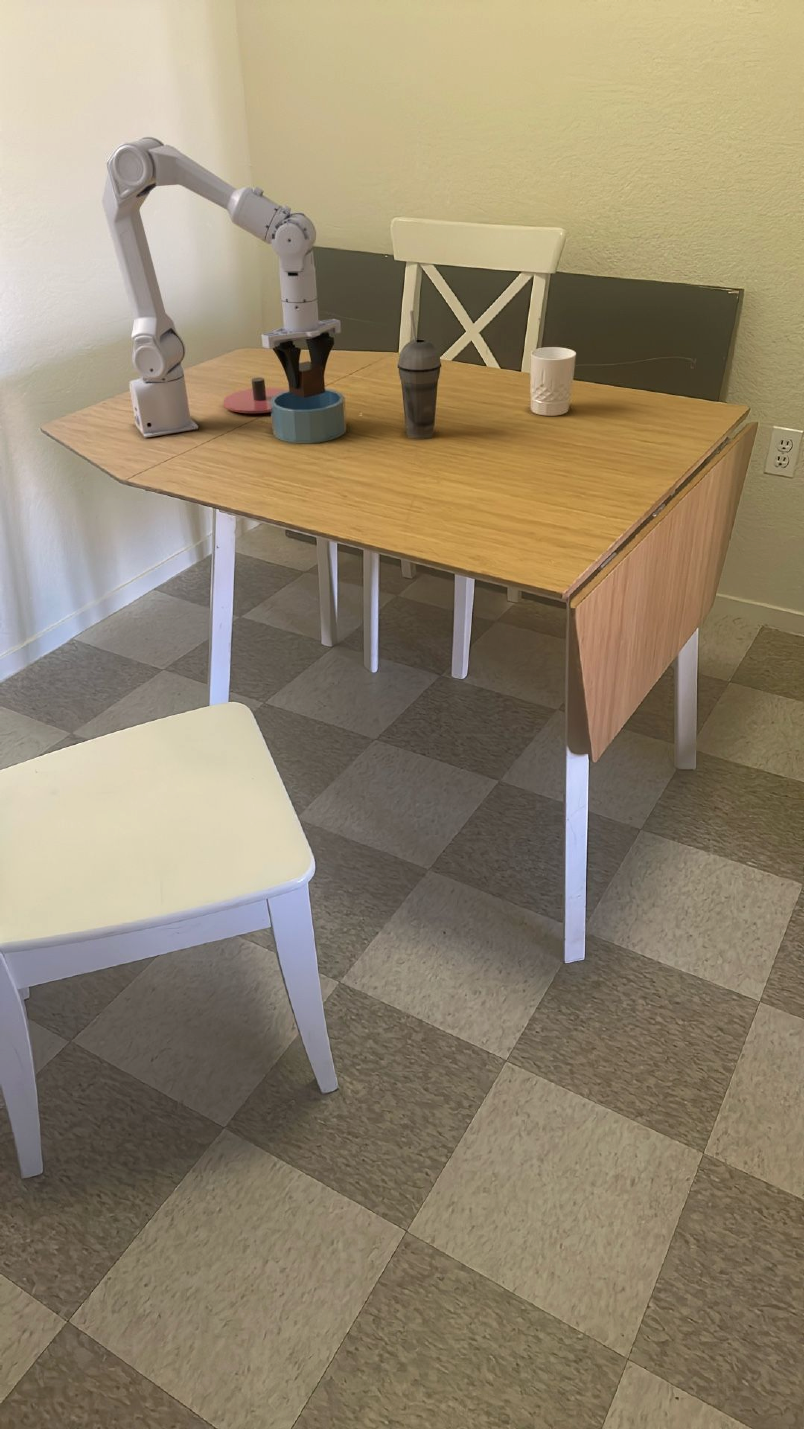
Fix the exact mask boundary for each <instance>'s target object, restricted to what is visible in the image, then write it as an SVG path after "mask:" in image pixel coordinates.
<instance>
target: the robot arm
mask: <svg viewBox="0 0 804 1429" xmlns="http://www.w3.org/2000/svg"><path fill="white" fill-rule="evenodd" d="M105 165H106V171H107V173H106V178H105V183H104V188H103V194H102V199H101V200H102V201H101V202H102V207H103V208H102V209H103V211H104V214H105V218H106V223H107V226H108V229H109V233H110V237H111V241H112V244H113V248H114V251H115V255H116V260H117V262H118V266H119V269H120V273H121V277H122V280H123V285H124V288H125V292H126V296H127V299H128V303H129V306H130V310H131V313H132V317H133V326H132V331H131V335H130V336H131V337H130V338H131V341H132V347H133V350H132V355H131V356H132V357H131V361H132V365H133V367H134V370H135V371H136V372H137V373H138V374H139V375H140V377H139V378H137V379H133V380H130V381H129V393H130V399H131V405H132V411H133V415H134V422H135V426H136V427H137V429H138V430H139V431H140V433H141V434H142V435H143V437H144V438H152V437H158V436H163V435H164V436H165V435H170V434H176V433H181V432H188V431H194V430H198V429H199V425H198V424H197V423H196V421H194V420H193V418H191V413H190V412H191V411H190V405H189V398H188V392H187V391H188V390H187V385H186V380H185V372H184V368H183V367H182V362H183V360H184V359H185V357H186V346H185V342H184V340H183V338H182V337H181V336H180V335H179V333H178V331H177V329H176V327H175V323H174V322H175V321H174V320H173V319H172V318H171V317H170V316H169V315H168V314H167V313H166V310H165V306H164V305H165V304H164V302H163V298H162V294H161V290H160V285H159V282H158V277H157V274H156V270H155V266H154V263H153V258H152V255H151V250H150V246H149V243H148V238H147V234H146V231H145V230H146V229H145V227H144V222H143V218H142V215H141V211H140V210H141V208H142V206H143V204H144V203H145V201H146V200H147V198H148V196H149V195H150V192H152V190H154V189H155V188H156V187H164V186H165V187H166V186H181V187H183V188H185V189H187V190H189V191H191V192H193V193H195V194H196V195H198V196H200V197H202V198H203V199H206V200H207V201H210V202H212V203H213V204H215V205H218V207H221V208H222V209H225V210H226V212H228V216H229V218H230V221H231V222H232V224H234V225H235V226H237V227H239V228H240V229H242V230H244V231H246V233H249V234H251V235H252V236H254V237H256V238H257V239H259V240H261V241H262V242H264V243H266V244H267V245H271V246H272V249H273V251H274V252H275V254H276V255H277V257H278V266H279V267H278V268H279V269H278V274H279V275H278V276H279V284H280V285H279V286H280V294H281V297H280V298H281V306H282V319H283V320H282V321H283V327H280V328H278V329H277V328H276V329H275V330H272V331H270V332H267V333H262V334H261V342H262V343H261V344H262V347H263V348H265V349H268V350H272V351H273V352H274V354H275V356H276V357H277V359H278V360H279V362H280V365H281V366H282V368H283V371H284V374H285V376H286V380H287V383H288V387H289V386H290V387H292V388H295V389H298V388H299V385H300V376H299V363H300V359H301V353H302V349H301V348H299V347H297V346H296V344H294V343H296V342H297V343H298V342H301V341H305V342H306V346H307V349H308V353H309V358H310V362H312V363H315V364H318V365H321V366H323V368H324V374H325V373H326V367H327V363H328V359H329V356H330V353H331V352H332V349H333V347H334V345H335V338H334V337H333V336H331V334H341V333H342V326H341V325H342V324H341V320H339V319H335V318H329V319H324V320H320V319H319V306H318V291H317V290H318V289H317V276H316V267H315V258H314V257H315V256H314V250H313V249H312V248H313V247H314V245H315V243H316V239H317V230H316V227H315V225H314V223H313V222H312V220H311V219H310V218H309V217H307V215H305V213H303V212H299V211H295V212H291V211H292V208H291V207H289V205H284V206H282V205H280V204H279V203H277V202H275V201H274V200H272V199H270V198H269V197H267V196H265V195H264V192H265V191H264V190H263V189H262V188H261V187H258V186H255V187H254V188H252V187H250V186H245V187H242V188H239V189H237V188H236V187H234V186H232V185H231V184H230V183H228V182H227V181H225V180H224V179H222V178H220V177H219V176H217V175H216V174H214V173H213V172H211V171H210V170H208V169H207V168H205V167H203V165H201V164H200V163H198V162H196V161H195V160H193V159H192V158H190V157H188V155H186V154H184V153H183V152H181V151H180V150H178V149H177V148H176V147H174V146H172V145H170V144H164V142H162V141H161V140H159V138H156V137H153V136H144V137H142V138H140V139H138V140H134V141H131V142H130V141H129V142H128V141H126V142H123V143H120V144H119V145H118V146H116V148H115V149H114V150H113V152H112V153H111V155H110V156H109V157H108V159H107V160H106V162H105Z"/></svg>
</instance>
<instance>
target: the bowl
mask: <svg viewBox="0 0 804 1429" xmlns="http://www.w3.org/2000/svg"><path fill="white" fill-rule="evenodd" d="M270 409H271V412H270V419H271V429H272V432H273V435H274V437H275V438H276V439H278V440H280V441H283V442H286V443H293V444H317V443H324V442H328V441H332V440H335V439H337V438H340V437H341V436H343V435H344V434H345V433H346V431H347V412H346V397H345V396H344V395H343V393H342V392H340V391H336V390H334V389H329V388H325V393H322V394H318V395H314V396H311V397H307V398H302V397H300V396H297V395H295V394H292V393H289V390H288V391H285V392H281V393H279V394H277V395H275V396H273V397H272V399H271V400H270Z"/></svg>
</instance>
